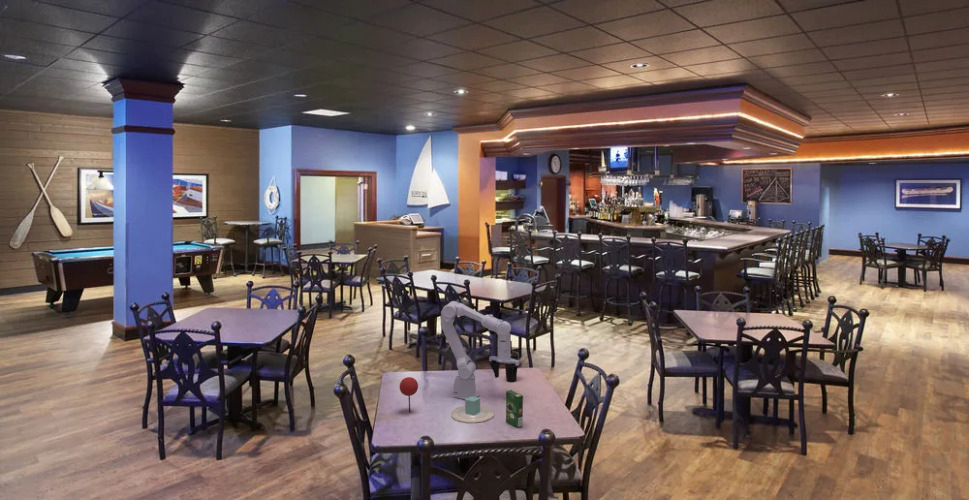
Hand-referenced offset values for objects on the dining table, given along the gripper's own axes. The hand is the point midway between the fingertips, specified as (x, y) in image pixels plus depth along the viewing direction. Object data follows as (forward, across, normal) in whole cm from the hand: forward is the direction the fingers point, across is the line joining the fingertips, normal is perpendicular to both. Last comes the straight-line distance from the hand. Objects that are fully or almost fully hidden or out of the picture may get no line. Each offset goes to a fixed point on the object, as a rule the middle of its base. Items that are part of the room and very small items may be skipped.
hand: (504, 378), depth 263 cm
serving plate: (+9, -2, -23) cm, 25 cm away
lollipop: (+10, -27, -34) cm, 44 cm away
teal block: (+8, -2, -23) cm, 25 cm away
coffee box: (+10, +18, -23) cm, 31 cm away
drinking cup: (+10, -10, +24) cm, 28 cm away
